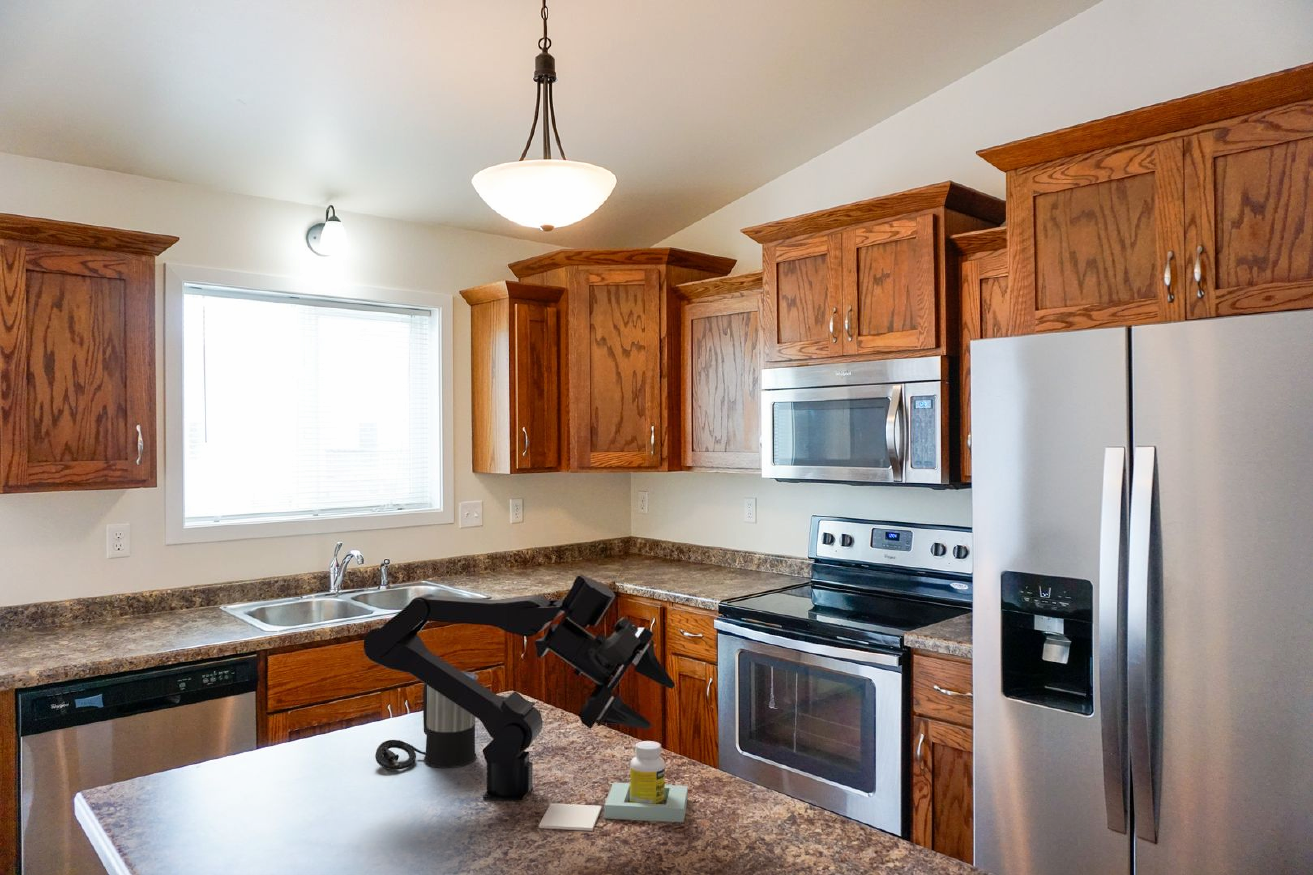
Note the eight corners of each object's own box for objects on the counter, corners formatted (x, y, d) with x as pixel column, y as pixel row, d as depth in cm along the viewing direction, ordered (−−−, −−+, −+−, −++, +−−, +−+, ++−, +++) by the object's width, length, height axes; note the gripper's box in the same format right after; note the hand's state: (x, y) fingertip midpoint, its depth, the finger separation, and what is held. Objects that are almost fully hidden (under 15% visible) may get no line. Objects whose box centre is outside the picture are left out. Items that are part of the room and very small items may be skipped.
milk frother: (488, 757, 155) (489, 674, 156) (421, 785, 142) (422, 695, 142) (432, 742, 163) (433, 664, 163) (364, 767, 150) (365, 682, 150)
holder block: (604, 818, 129) (604, 804, 129) (613, 794, 138) (613, 782, 138) (683, 822, 128) (683, 808, 128) (687, 798, 137) (687, 785, 137)
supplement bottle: (660, 816, 130) (661, 751, 130) (626, 813, 131) (626, 749, 131) (667, 802, 135) (668, 740, 136) (634, 799, 136) (634, 737, 137)
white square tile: (538, 827, 126) (538, 824, 126) (550, 805, 134) (550, 803, 134) (592, 830, 125) (592, 827, 125) (601, 808, 133) (601, 805, 133)
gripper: (567, 658, 125) (656, 720, 123) (624, 584, 140) (704, 639, 138) (545, 699, 132) (629, 759, 130) (601, 625, 147) (678, 678, 145)
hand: (662, 706), depth 135 cm, fingers open, 9 cm apart
